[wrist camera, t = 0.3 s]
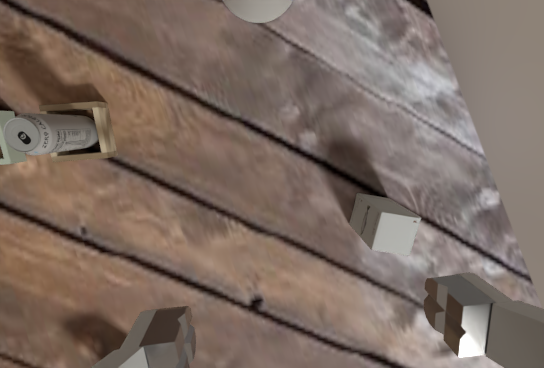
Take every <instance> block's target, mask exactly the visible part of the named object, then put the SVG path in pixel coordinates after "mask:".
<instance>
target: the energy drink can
mask: <svg viewBox="0 0 544 368" xmlns="http://www.w3.org/2000/svg"><path fill="white" fill-rule="evenodd" d="M3 136H4V139H5V141H6V143H7V144H8V145H9V146H10V147H11V148H12V149H14V150H16V151H18V152H23V153H26V154H29V155H41V154H48V153H55V152H62V151H69V150H75V149H82V148H89V147H92V146H93V145H95V144H96V143H97V141H98V139H99V138H98V133H97V129H96V124H95V122H94V121H93V120H92V119H91V118H89V117H87V116H81V115H55V114H30V113H25V114H20V115H18V116H16V117H15V118H12V119H10V120H8V121H7V122H6V123H5V125H4V128H3Z"/></svg>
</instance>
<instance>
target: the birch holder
mask: <svg viewBox="0 0 544 368" xmlns="http://www.w3.org/2000/svg"><path fill="white" fill-rule="evenodd" d="M39 109H40V113H41V114H55V115H60V112H64V111H78V110H91V109H93V114H94V119H95V124H96V129H97V133H98V138H99V143H100V148H101V152H91V153H78V154H70V153H69V151H62V152H55V153H51V157H52V161H53V162H61V161H74V160H87V159H99V158H110V157H114V156H118V155H117V150H116V145H115V140H114V135H113V130H112V125H111V120H110V114H109V109H108V104H107V103H105V102H97V101H95V102H82V103H68V104H54V105H40V106H39Z"/></svg>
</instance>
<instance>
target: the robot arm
mask: <svg viewBox="0 0 544 368" xmlns="http://www.w3.org/2000/svg"><path fill="white" fill-rule="evenodd" d="M222 1H223V2H224V4H225V5H226V6H227V8H228V9H229V10H230V11H231V12H232V13H233V14H235V15H236V16H238V17H239V18H241V19H243V20H245V21H249V22H253V23H264V22H268V21H271V20H274V19H276V18H277V17H279V16H280V15H282V14H283V13H284V12H285V11H286V10H287V9H288V8H289V6H290V5H291V3H292V1H293V0H222ZM425 290H426V291H427V293H428V296H427V297H426V298H425V300H424V311H425V315H426V318H427V320H428V321H429V323H430V325H431V326H432V327H433V328H434V329H435V330H436V331H438V332H440V333H442V334H444V341H445V342H446V344H447V345H448V346H449V347H450V348H451V349H452V350H453V352H454V353H455V354H456V355H457V356H458V357H468V356H478V355H486V357H488V358H490V359H491V360H493V361H495V362H496V363H498V364H499V365H501V366H503V367H504V368H544V309H542V308H539V307H536V306H533V305H530V304H527V303H524V302H521V301H513V300H511V299H510V298H508V297H507V296H506V295H504V294H503V293H501V292H500V291H499V290H497V289H496V288H494V287H493V286H491V285H490V284H489V283H487V282H486V281H484V280H483V279H481V278H480V277H479V276H477V275H476V274H474V273H470V272H468V273H461V274H455V275H450V276H442V277H434V278H427V280H426V282H425ZM191 320H192V313H191V308H190V307H189V306H183V307H172V308H162V309H153V310H144V311H142V312H141V313H140V314H139V316H138V318H137V319H136V321H135V323H134V325H133V326H132V328H131V330H130V332H129V333H128V335H127V337H126V339H125V340H124V342H123V344H122V346H121V347H120V349H118V350H114V351H112V352H111V353H110V354H108V355H107V356H106V357H104V358H103V359H102V360H100V361H99V362H98V363H96V364H95V365H94V366H92V367H91V368H189V364H190V363H191V362H192V361H193V360H194V355H195V348H196V335H195V329H194V327H193V326H192V325H190V323H191Z"/></svg>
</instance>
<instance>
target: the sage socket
mask: <svg viewBox="0 0 544 368" xmlns="http://www.w3.org/2000/svg"><path fill="white" fill-rule="evenodd" d="M12 118H15V115H14V111H0V146H1V150H2V153H3V157H4V158H0V165H2V164H13V163H19V162H25V161H27V159H26V156H25V153H23V152H18V151H16V150H14V149H12V148H11V147H10V146H9V145H8V144H7V143H6V141H5V139H4V136H3V128H4V125H5V123H6V122H7V121H8V120H10V119H12Z"/></svg>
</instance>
